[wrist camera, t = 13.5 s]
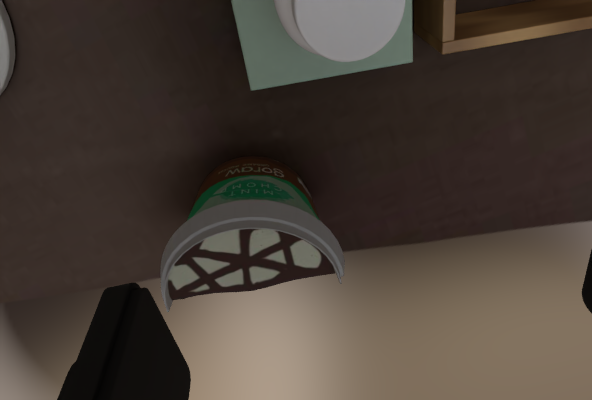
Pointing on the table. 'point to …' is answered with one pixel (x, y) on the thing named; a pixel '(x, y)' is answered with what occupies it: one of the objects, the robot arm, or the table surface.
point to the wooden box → (497, 22)
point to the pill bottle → (341, 25)
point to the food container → (248, 233)
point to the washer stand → (297, 61)
